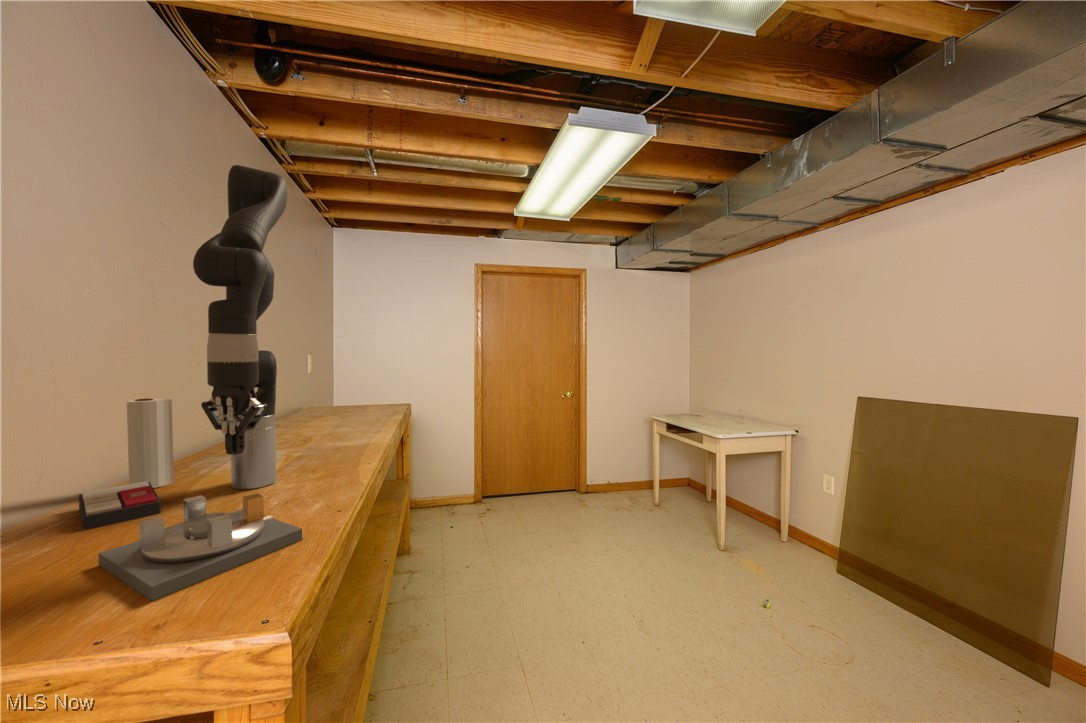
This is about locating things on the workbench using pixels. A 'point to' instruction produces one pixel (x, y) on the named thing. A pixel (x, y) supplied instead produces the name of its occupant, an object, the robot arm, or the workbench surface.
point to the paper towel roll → (150, 441)
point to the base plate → (192, 561)
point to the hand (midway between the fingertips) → (234, 453)
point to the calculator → (118, 504)
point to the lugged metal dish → (201, 531)
